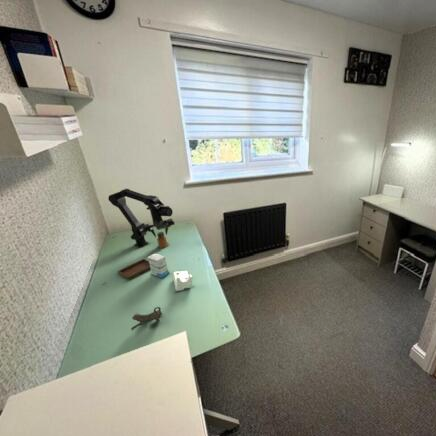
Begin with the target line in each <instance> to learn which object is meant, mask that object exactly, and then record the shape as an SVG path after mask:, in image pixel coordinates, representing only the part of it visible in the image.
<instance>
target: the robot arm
mask: <svg viewBox="0 0 436 436" xmlns="http://www.w3.org/2000/svg"><path fill="white" fill-rule="evenodd" d="M126 198H128V199H132V200H135V201H139V202H140V203H143V205H145V206H146V210H148V211H149V213H150V217H151V221H152V224H149V223H147V224H145V223H144V222H142V223H141V222H140V221H139V219H138V218H137V217H136V215H135V214H134V213H133V211H132V210H131V209H130V207H129V205H128V204H127V199H126ZM107 200H108V201H109V203H110V204H111V205H113V206H114V207H116V208H118V210H119V211H120V212H121V214H122V215H123V216H124V218H125V219H126V220H127V222H128V223H129V225H130V226H131V232H132V234H131V235H130V239H131V240H132V241H134V242H135V243H134V244H133V245H134V246H135V247H137V248H142V247H144V246H146V245H149V242H147V241H146V238H145V236H146V235H147V233H148V232H149V233H152V235H153V236H154V238H157V234H156V233H155V230H154V229H153V228H156V230H158V231H159V230H162V229H164V231H165V233H164V234H165V235H166V236H167V235H168V230H169V228H170V227H171V226H174V225H175V221H174V220H173V218H168V219H163V217H172V215H173V208H172V207H170V206H169V205H165V203H164V202H163V201H161V199H160V198H159V197H158V196H156V195H149V194H148V195H146V194H144V193H140V192H137V191H134V190H131V189H130V188H123V189H121V190H120V191H117V192H114V193H111V194H110V195H108V198H107Z"/></svg>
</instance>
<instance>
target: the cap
mask: <svg viewBox="0 0 436 436" xmlns="http://www.w3.org/2000/svg"><path fill="white" fill-rule="evenodd" d="M156 236H157V238H158V237H159V238H160V237H164V236H165V233H164V232H163V231H160V232H157V233H156Z"/></svg>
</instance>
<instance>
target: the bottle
mask: <svg viewBox="0 0 436 436" xmlns="http://www.w3.org/2000/svg"><path fill="white" fill-rule="evenodd" d="M156 238H157V239H156V241H157V245H158V247H159V249H164V248H167V247H168V246H169V245H168V239H167V237H166V236H165V235H164V237H160V238H159V237H158V236H157V237H156Z"/></svg>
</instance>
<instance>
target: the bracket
mask: <svg viewBox="0 0 436 436" xmlns="http://www.w3.org/2000/svg"><path fill="white" fill-rule="evenodd" d="M172 279H173V284H174V288H175V291H176V292H178V291H184V290H185V289H191V288H192V284H193V283H192V282H193V275H192V274H191V273H189V272H188V270H179V271H173V274H172Z"/></svg>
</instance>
